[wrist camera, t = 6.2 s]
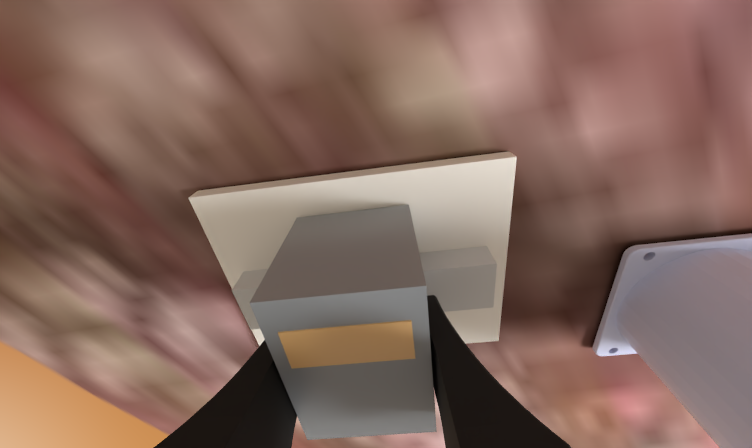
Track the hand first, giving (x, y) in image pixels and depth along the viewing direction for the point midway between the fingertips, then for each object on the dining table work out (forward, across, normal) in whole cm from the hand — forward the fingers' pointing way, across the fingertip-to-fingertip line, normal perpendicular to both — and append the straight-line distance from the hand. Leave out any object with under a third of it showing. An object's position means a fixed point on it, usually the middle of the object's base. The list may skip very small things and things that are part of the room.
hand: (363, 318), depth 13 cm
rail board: (+3, 0, 0) cm, 3 cm away
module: (+2, 0, 0) cm, 2 cm away
